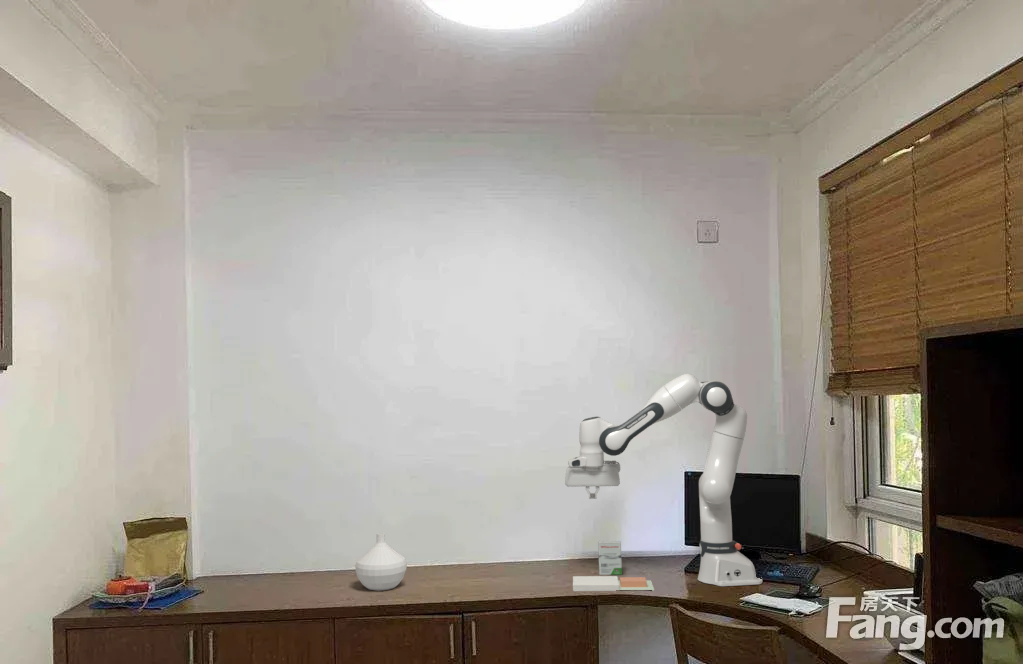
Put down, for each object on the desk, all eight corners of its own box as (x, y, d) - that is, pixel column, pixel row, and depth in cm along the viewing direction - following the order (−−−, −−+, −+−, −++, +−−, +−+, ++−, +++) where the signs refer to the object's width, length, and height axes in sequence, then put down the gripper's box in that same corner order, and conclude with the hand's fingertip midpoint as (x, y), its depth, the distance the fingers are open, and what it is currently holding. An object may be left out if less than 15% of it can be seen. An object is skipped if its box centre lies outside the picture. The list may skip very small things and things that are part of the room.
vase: (380, 578, 325) (380, 527, 326) (417, 584, 315) (416, 531, 316) (344, 589, 310) (344, 535, 311) (382, 596, 300) (381, 540, 301)
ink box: (622, 571, 328) (621, 540, 328) (622, 575, 323) (621, 542, 323) (598, 571, 329) (598, 540, 329) (598, 575, 324) (598, 543, 324)
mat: (651, 581, 312) (650, 580, 312) (654, 590, 299) (654, 589, 299) (617, 581, 313) (617, 580, 313) (619, 590, 300) (619, 589, 300)
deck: (617, 581, 313) (617, 576, 313) (619, 590, 300) (619, 585, 300) (573, 581, 314) (572, 576, 314) (573, 591, 301) (572, 585, 301)
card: (645, 582, 309) (645, 577, 309) (646, 587, 303) (646, 581, 303) (619, 582, 309) (619, 577, 310) (620, 587, 303) (620, 581, 304)
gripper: (619, 459, 323) (620, 496, 323) (564, 460, 325) (565, 497, 324) (620, 461, 317) (621, 499, 316) (564, 462, 318) (565, 500, 318)
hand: (592, 498), depth 320 cm, fingers closed
